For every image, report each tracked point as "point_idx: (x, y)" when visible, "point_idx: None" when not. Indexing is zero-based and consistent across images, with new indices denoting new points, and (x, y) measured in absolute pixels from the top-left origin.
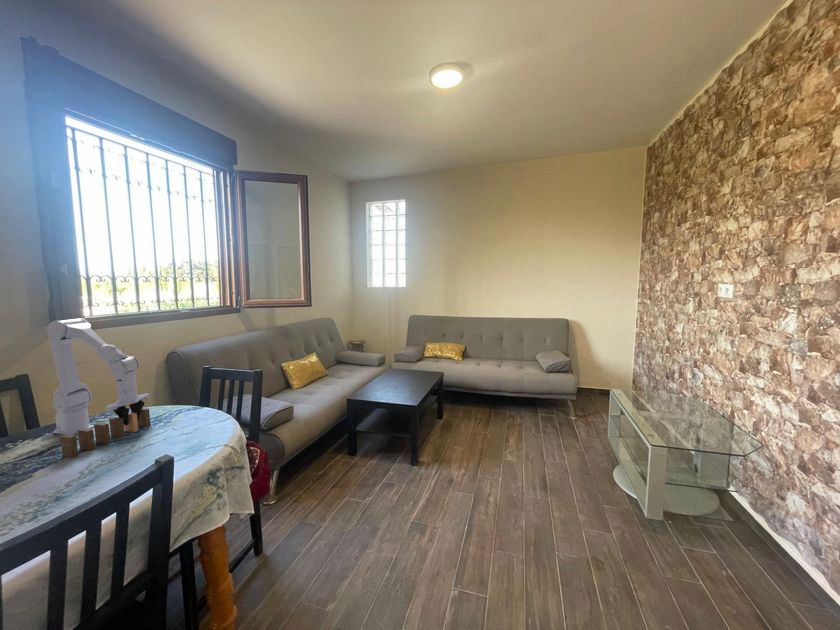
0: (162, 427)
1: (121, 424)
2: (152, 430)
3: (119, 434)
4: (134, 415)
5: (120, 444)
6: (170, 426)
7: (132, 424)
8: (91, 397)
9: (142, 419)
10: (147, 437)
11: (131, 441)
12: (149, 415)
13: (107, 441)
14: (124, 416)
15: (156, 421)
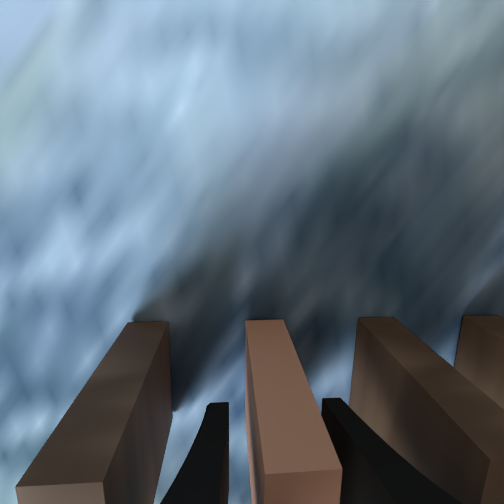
0: (123, 159)
1: (453, 392)
2: (206, 195)
3: (410, 336)
4: (299, 446)
5: (486, 200)
6: (74, 90)
7: (299, 370)
8: None
9: (154, 410)
10: (343, 85)
11: (431, 160)
12: (85, 389)
13: (497, 322)
14: (451, 496)
15: (40, 359)
